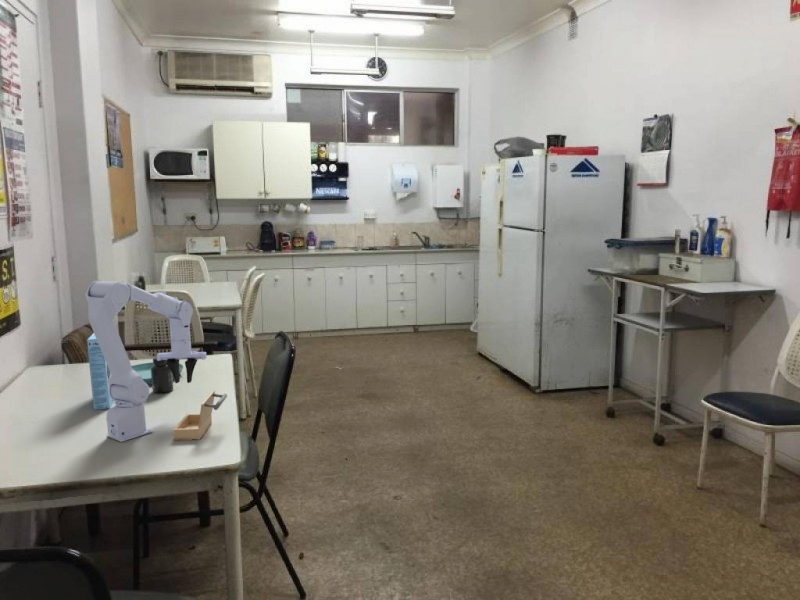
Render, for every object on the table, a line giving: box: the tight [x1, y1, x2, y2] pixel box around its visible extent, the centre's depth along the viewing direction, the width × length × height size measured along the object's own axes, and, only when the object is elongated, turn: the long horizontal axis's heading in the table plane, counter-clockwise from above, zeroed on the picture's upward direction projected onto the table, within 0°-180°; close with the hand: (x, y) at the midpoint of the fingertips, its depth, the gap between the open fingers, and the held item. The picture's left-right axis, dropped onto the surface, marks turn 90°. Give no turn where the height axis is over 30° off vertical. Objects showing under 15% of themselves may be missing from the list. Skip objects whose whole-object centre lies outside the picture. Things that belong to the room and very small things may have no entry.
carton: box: [172, 413, 213, 442], centre depth 172 cm, size 7×13×3 cm, turn 3°
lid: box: [198, 389, 228, 428], centre depth 172 cm, size 7×13×4 cm
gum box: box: [86, 332, 114, 411], centre depth 200 cm, size 20×5×23 cm, turn 17°
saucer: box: [131, 361, 184, 385], centre depth 229 cm, size 24×24×3 cm
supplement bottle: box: [151, 356, 174, 395], centre depth 210 cm, size 7×7×12 cm
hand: (183, 382), depth 188 cm, fingers open, 3 cm apart
